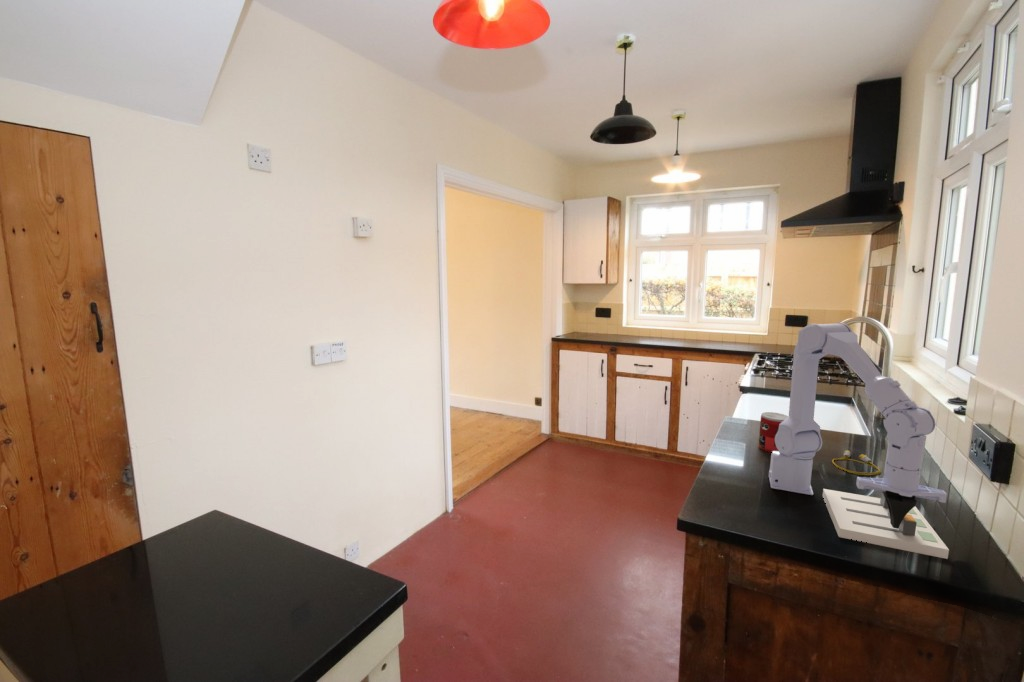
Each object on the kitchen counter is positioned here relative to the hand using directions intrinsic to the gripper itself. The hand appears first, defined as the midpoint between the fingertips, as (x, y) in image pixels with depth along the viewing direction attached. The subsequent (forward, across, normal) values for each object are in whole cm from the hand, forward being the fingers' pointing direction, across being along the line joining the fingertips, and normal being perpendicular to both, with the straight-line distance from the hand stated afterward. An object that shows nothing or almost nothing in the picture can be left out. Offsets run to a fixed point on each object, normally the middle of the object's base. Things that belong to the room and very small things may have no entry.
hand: (894, 525), depth 99 cm
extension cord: (+4, +2, +43) cm, 43 cm away
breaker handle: (+1, +2, 0) cm, 2 cm away
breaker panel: (+3, -1, +6) cm, 7 cm away
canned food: (+3, -19, +46) cm, 50 cm away
